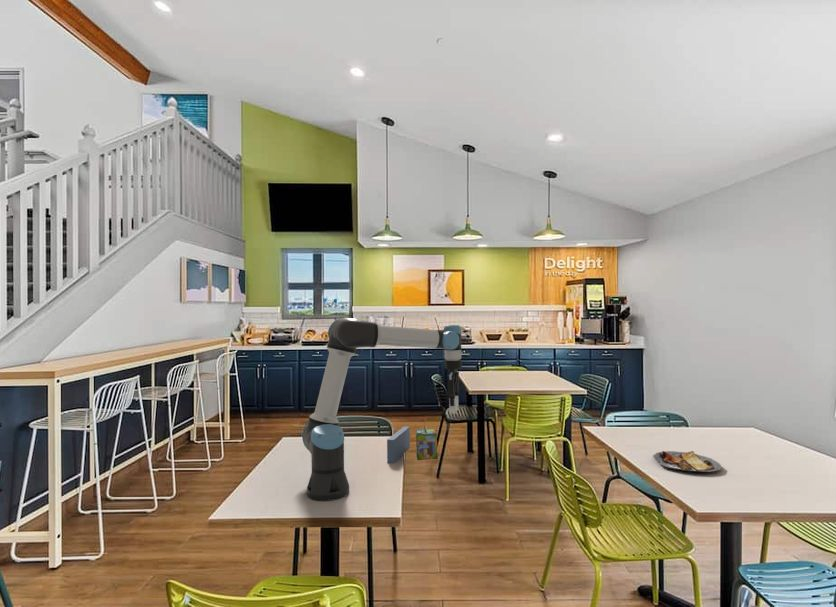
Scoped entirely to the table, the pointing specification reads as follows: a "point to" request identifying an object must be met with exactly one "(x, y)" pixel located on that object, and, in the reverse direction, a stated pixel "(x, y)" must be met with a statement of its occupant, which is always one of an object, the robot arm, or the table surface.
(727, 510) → the table surface
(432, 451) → the chalk box
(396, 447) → the grayish blue board
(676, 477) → the table surface
